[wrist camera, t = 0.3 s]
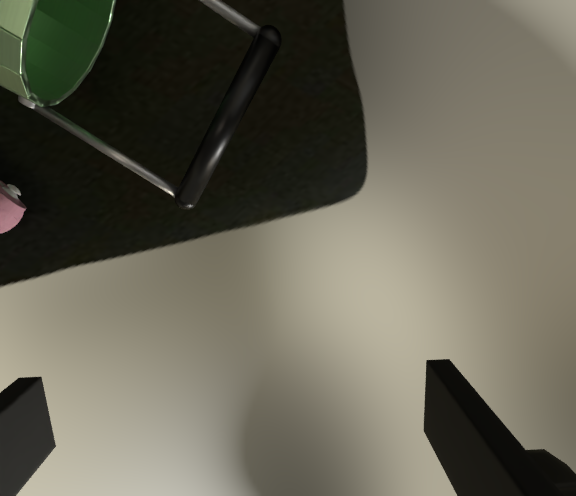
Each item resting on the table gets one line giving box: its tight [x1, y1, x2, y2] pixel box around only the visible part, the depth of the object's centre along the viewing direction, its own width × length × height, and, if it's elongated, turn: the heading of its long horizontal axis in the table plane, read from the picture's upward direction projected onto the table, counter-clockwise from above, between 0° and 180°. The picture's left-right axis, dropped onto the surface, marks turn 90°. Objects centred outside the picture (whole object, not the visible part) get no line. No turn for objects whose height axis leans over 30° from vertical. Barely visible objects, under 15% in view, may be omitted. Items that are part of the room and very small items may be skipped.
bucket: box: [0, 0, 281, 210], centre depth 25 cm, size 11×13×22 cm
